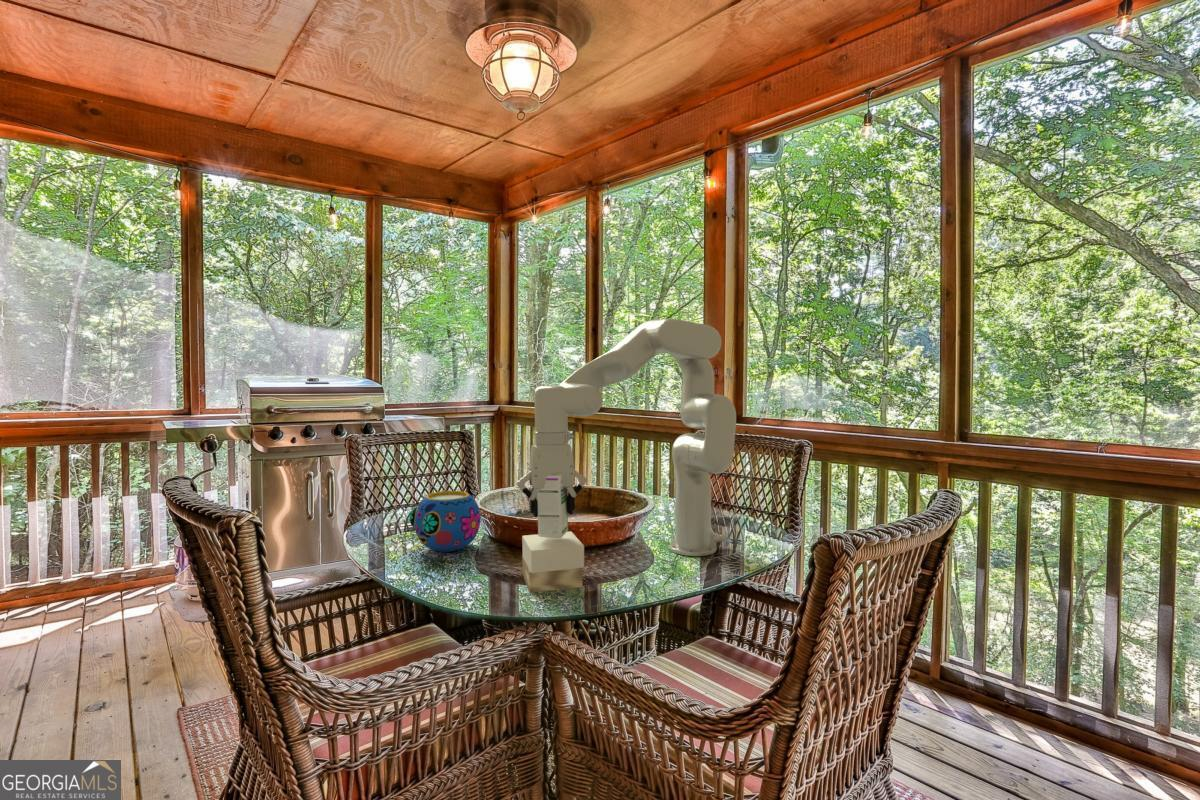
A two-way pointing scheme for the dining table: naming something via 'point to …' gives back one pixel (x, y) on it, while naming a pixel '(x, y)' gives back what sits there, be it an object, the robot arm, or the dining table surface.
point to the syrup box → (552, 508)
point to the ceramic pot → (446, 520)
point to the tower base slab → (552, 579)
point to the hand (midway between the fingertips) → (552, 514)
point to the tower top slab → (552, 553)
